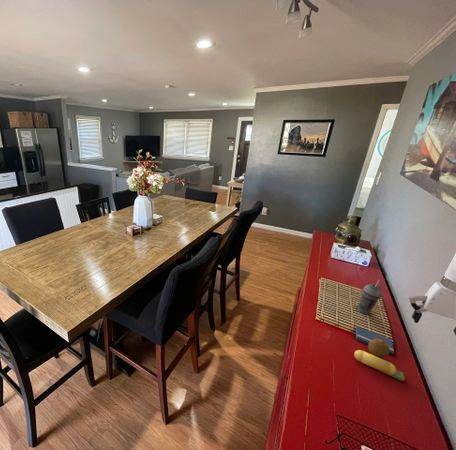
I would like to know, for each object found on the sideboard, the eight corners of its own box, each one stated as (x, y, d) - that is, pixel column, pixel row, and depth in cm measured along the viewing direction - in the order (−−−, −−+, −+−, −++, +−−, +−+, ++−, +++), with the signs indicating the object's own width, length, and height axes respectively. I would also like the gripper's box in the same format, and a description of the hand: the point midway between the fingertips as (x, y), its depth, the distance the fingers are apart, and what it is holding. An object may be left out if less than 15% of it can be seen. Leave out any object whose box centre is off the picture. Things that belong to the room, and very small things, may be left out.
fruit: (363, 346, 102) (371, 332, 98) (382, 353, 99) (390, 338, 95) (366, 357, 97) (374, 342, 93) (386, 364, 94) (395, 350, 91)
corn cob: (401, 375, 90) (406, 367, 88) (402, 384, 87) (408, 376, 85) (352, 353, 98) (356, 345, 96) (352, 360, 95) (356, 352, 93)
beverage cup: (371, 309, 122) (387, 277, 115) (373, 318, 117) (391, 284, 109) (353, 303, 126) (368, 272, 118) (355, 312, 120) (370, 279, 112)
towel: (390, 342, 104) (392, 339, 103) (392, 354, 98) (394, 352, 97) (356, 328, 110) (357, 325, 110) (356, 339, 105) (357, 336, 104)
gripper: (497, 290, 73) (469, 332, 79) (417, 270, 83) (398, 310, 89) (509, 303, 67) (478, 347, 74) (422, 280, 77) (401, 321, 83)
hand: (434, 327), depth 81 cm, fingers open, 9 cm apart
